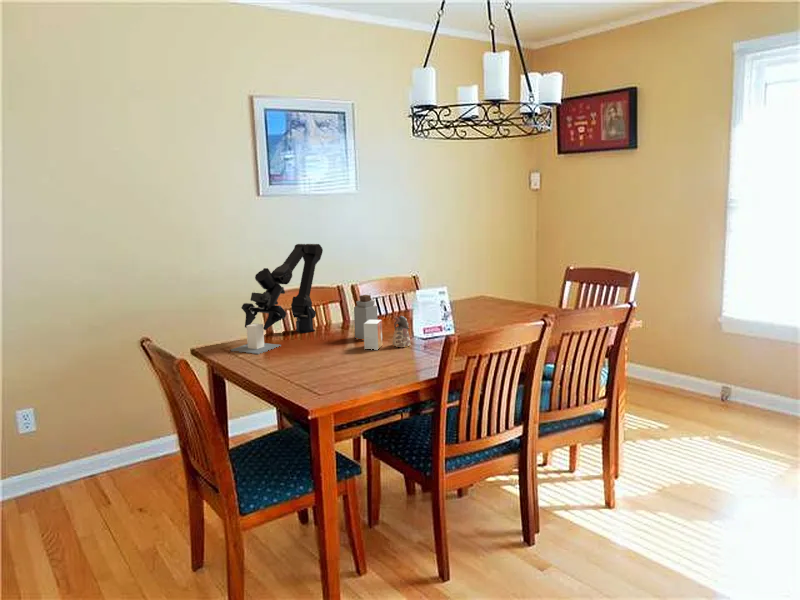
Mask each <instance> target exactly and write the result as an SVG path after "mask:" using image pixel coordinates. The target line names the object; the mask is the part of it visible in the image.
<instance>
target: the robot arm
mask: <svg viewBox="0 0 800 600" xmlns="http://www.w3.org/2000/svg"><path fill="white" fill-rule="evenodd" d="M323 252H324V251H323V247H322V246H321V244H319V243H296V244H295V245H294V248H293V250H292V251H291V252H290V253H289V255H288V256H287V258H285V260H284V261H283V263H282V264H281V265H279V266H277V267H275V269H273V270H272V272H271V271H270V269H269V268H268V267H267V268H264V267H263V269H261V270H260V271H259V272H257V273H256V274H255V276H254V279H255V281H256V282H257V283H258V285H260V287H261V288H262V289H263V290H265V291H264V292H263V293H262V292H261V293H260V292H251V295H250V299H249V300H250V302H244V303H242V305H241V307H240V308H241V309H242V311H243V312H244V313H245V322H244V328H245V329H247V327H246V326H247V325H250V324H253V322H254V321H255V319H256V317H257V315H258V313H262V314H268V315H267V318H266V321H265V323H264V324H263V331H266V330H267V329H269V328H270V327H272V326H273V325H275V323H278V322H279V321H282V320H284V319H285V318H286V316H287V313H286V312H287V311H286V310H285V309H284V308H283V307H282V306H281V305H278V304H279V302H278V299H279V297H280V296H281V294H286V293H285V292H286V291H285V288H284V286H281V285H289V284H290V281H291V280H292V278H293V271H294V270H295V268H296V267H297V266H298V264H299V263H300V262H301V260H302V259H303V262H304V264H303V269H302V274H301V278H300V283H299V289H298V293H297V294H296V296H293V297H292V301H291V304H290V306H291V307H290V309H291V312H292V316H293V318H295V319H296V321H295V332H298V333H300V334H305V333H310V332H316V329H314V320H313V319H314V318H315V317H316V315H317V312H316V310H315V309H314V308H313V302H312V298H311V291H312V290H311V289H312V285H313V280H314V275H315V270H316V266H317V263H318V262H320V260H321V258H322V256H323ZM251 302H254V304H255V305H256V306H255V305H254V304H253V303H251Z"/></svg>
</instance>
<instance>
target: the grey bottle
mask: <svg viewBox="0 0 800 600" xmlns="http://www.w3.org/2000/svg"><path fill="white" fill-rule="evenodd" d="M371 297H372V296H371V295H370V294H361V295H359V300H357V301H355V302H356V306H353V314H354V315H353V317H354V319H353V320H354V321H353V322H354V324H353V325H354V339H355V338H358V339H364V323H365V322H367V321H368V320H379V319H378V305H375V300H373V299H371ZM358 339H357V340H358Z"/></svg>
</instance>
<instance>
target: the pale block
mask: <svg viewBox="0 0 800 600" xmlns="http://www.w3.org/2000/svg"><path fill="white" fill-rule="evenodd" d="M246 327H247V328H246V339H247V342H246V343H247V344H248V348H252V349H259V348H261V347H264V343H265V334H264V329H263V328H264V324H263V323H251V324H250V325H247V326H246Z"/></svg>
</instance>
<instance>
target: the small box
mask: <svg viewBox="0 0 800 600" xmlns="http://www.w3.org/2000/svg"><path fill="white" fill-rule="evenodd" d="M363 343H364V344H363V345H364V350H365V349H371V350H370V351H379V350H380V349H381V348H382V347H383V346H382V345H384V344H383V319H378V320H368V321H367V322H365V323H364V340H363ZM381 346H382V347H381ZM380 347H381V348H380ZM379 348H380V349H379ZM372 349H374V350H372ZM378 349H379V350H378Z"/></svg>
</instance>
